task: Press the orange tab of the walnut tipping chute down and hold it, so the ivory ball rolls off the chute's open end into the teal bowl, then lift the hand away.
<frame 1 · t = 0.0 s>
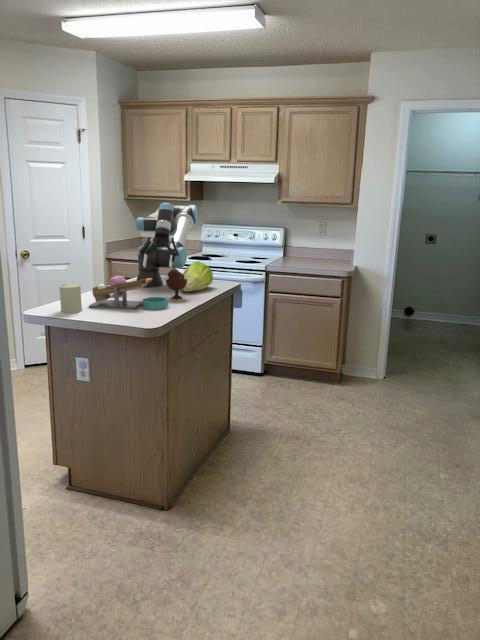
hand: (157, 266, 258), 15 cm above the table, fingers open, 13 cm apart
ball: (101, 288, 240), point 8 cm above the table, tilted 16°, touching chute
can: (71, 311, 230), on the table
chute stand: (121, 305, 241), on the table
cupcake: (118, 295, 266), on the table
lettuce: (194, 290, 281), on the table
chute: (123, 287, 244), point 8 cm above the table, hinge at 12.0°, touching ball
teal bowl: (155, 306, 239), on the table
ice cream bowl: (176, 298, 258), on the table
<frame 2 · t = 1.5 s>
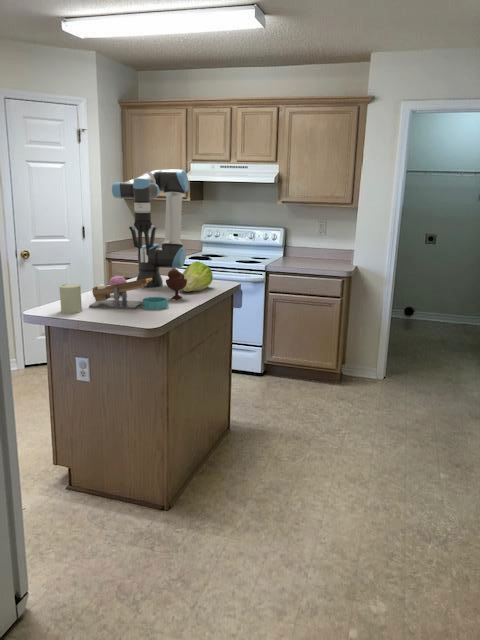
hand: (144, 262, 246), 19 cm above the table, fingers closed
nothing on the table moved.
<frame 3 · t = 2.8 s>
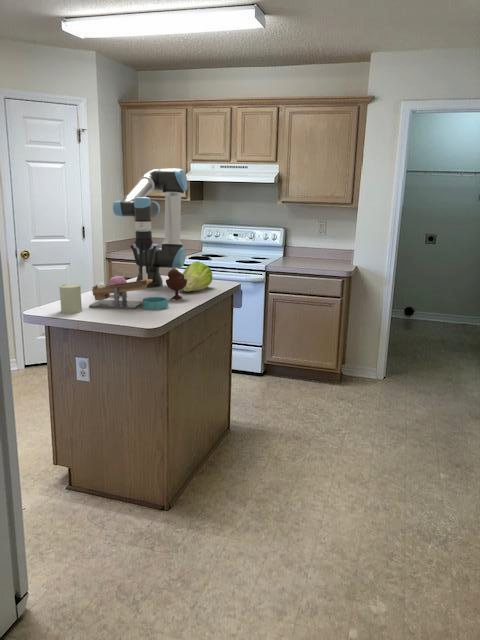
hand: (145, 279, 248), 11 cm above the table, fingers closed
chute: (123, 287, 244), point 8 cm above the table, hinge at 9.1°, touching ball, gripper
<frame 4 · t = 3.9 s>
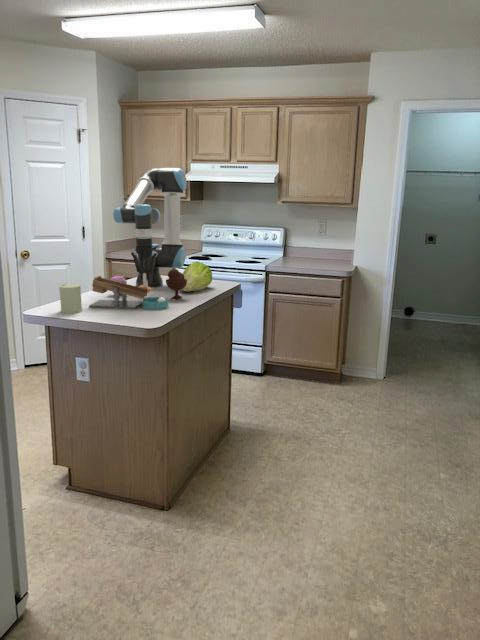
hand: (145, 286, 248), 7 cm above the table, fingers closed
ball: (161, 301, 238), point 3 cm above the table, tilted 122°
chute: (123, 287, 244), point 8 cm above the table, hinge at -12.3°, touching gripper
everything else where it was.
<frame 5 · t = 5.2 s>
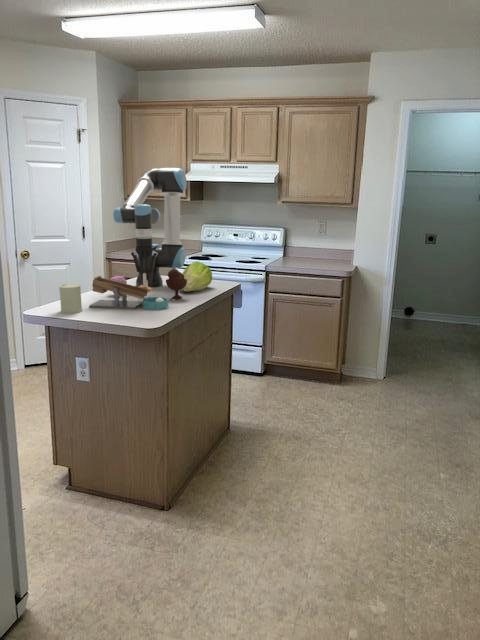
hand: (145, 286, 248), 7 cm above the table, fingers closed
ball: (159, 301, 239), point 2 cm above the table, tilted 116°, touching teal bowl
everything else where it was.
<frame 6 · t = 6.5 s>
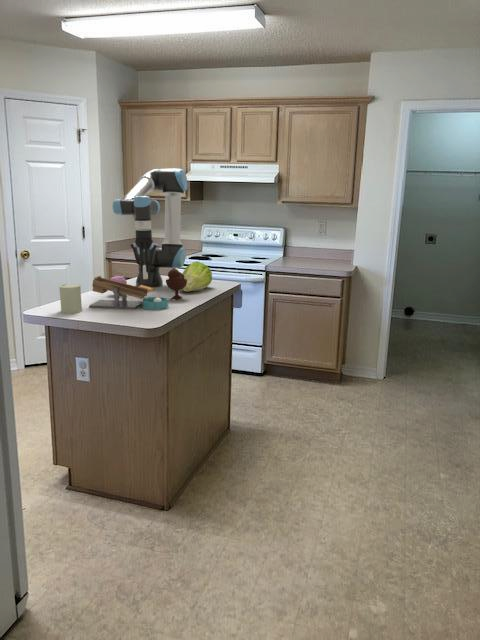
hand: (145, 278, 248), 11 cm above the table, fingers closed
ball: (157, 301, 239), point 2 cm above the table, tilted 88°, touching teal bowl
chute: (123, 287, 244), point 8 cm above the table, hinge at -12.3°
everything else where it was.
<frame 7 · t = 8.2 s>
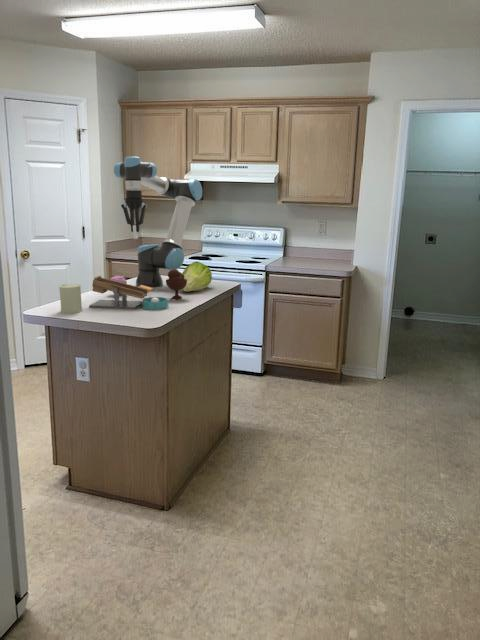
hand: (135, 238, 255), 29 cm above the table, fingers closed
ball: (154, 301, 239), point 2 cm above the table, tilted 50°, touching teal bowl
everything else where it was.
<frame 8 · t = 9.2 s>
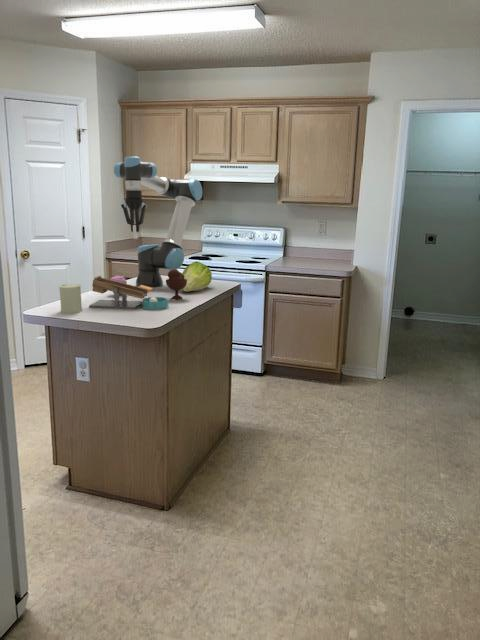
hand: (135, 238, 255), 29 cm above the table, fingers closed
ball: (153, 301, 239), point 2 cm above the table, tilted 28°, touching teal bowl
everything else where it was.
at the end: ball inside the target area on the teal bowl (1.2 cm from its centre), point 2.5 cm above the teal bowl's base; chute at -12° (first picture: +12°) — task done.
